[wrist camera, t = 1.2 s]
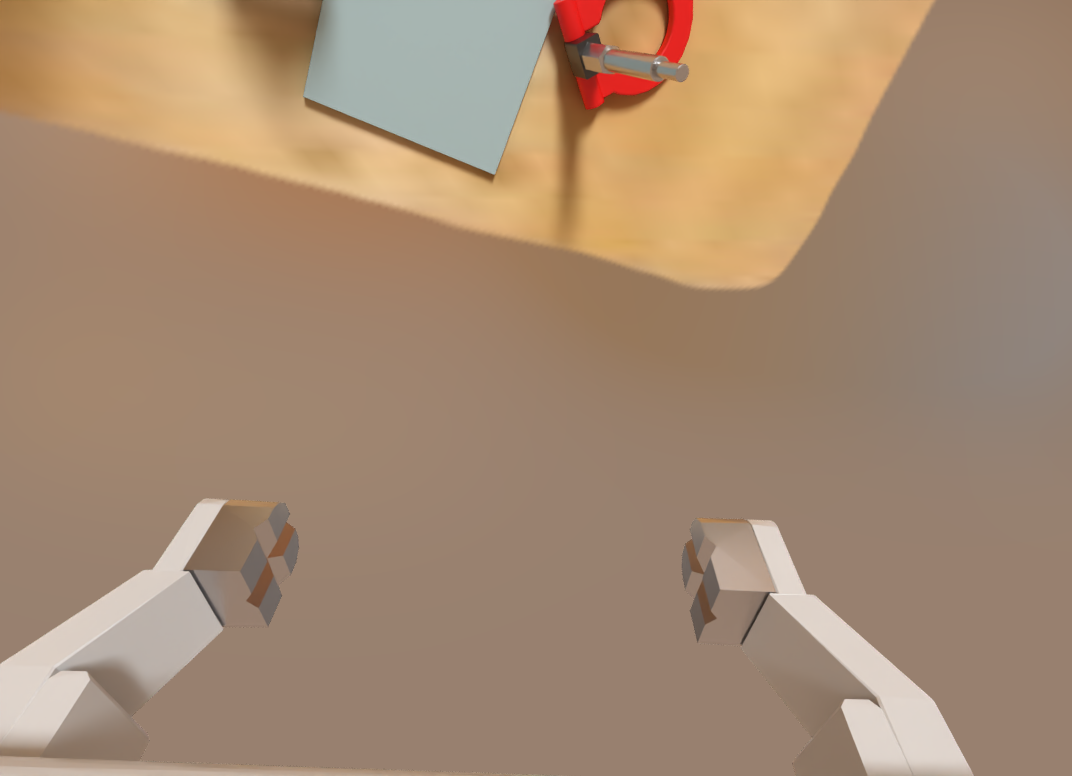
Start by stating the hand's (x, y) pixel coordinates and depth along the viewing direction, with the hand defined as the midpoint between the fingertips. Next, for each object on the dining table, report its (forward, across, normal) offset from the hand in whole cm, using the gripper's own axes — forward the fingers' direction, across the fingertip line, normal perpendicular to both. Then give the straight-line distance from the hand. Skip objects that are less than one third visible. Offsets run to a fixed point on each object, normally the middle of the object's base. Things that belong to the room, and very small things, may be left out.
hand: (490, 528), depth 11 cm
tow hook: (+37, -6, -7) cm, 38 cm away
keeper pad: (+33, +6, -6) cm, 34 cm away
